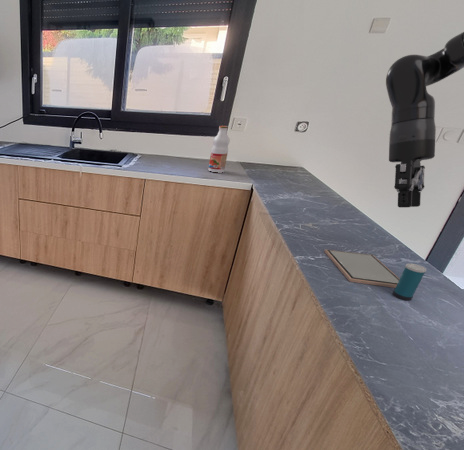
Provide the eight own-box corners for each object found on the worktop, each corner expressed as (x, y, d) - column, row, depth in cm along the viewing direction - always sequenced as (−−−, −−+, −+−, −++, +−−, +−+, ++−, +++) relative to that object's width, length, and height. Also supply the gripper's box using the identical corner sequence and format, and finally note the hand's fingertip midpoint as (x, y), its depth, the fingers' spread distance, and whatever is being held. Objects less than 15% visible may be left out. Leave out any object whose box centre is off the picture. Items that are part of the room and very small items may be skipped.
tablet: (371, 257, 94) (373, 254, 94) (407, 289, 79) (409, 286, 78) (324, 251, 98) (325, 248, 98) (349, 281, 83) (350, 278, 82)
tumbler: (406, 294, 77) (420, 264, 74) (414, 301, 74) (430, 271, 71) (389, 291, 78) (403, 262, 75) (397, 299, 76) (411, 269, 72)
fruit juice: (226, 173, 193) (235, 126, 182) (210, 173, 194) (218, 126, 183) (220, 169, 202) (228, 125, 191) (205, 170, 203) (212, 125, 192)
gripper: (428, 134, 69) (425, 207, 70) (441, 140, 76) (438, 206, 77) (381, 141, 75) (379, 208, 76) (397, 146, 83) (395, 206, 84)
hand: (409, 207), depth 77 cm, fingers open, 8 cm apart
